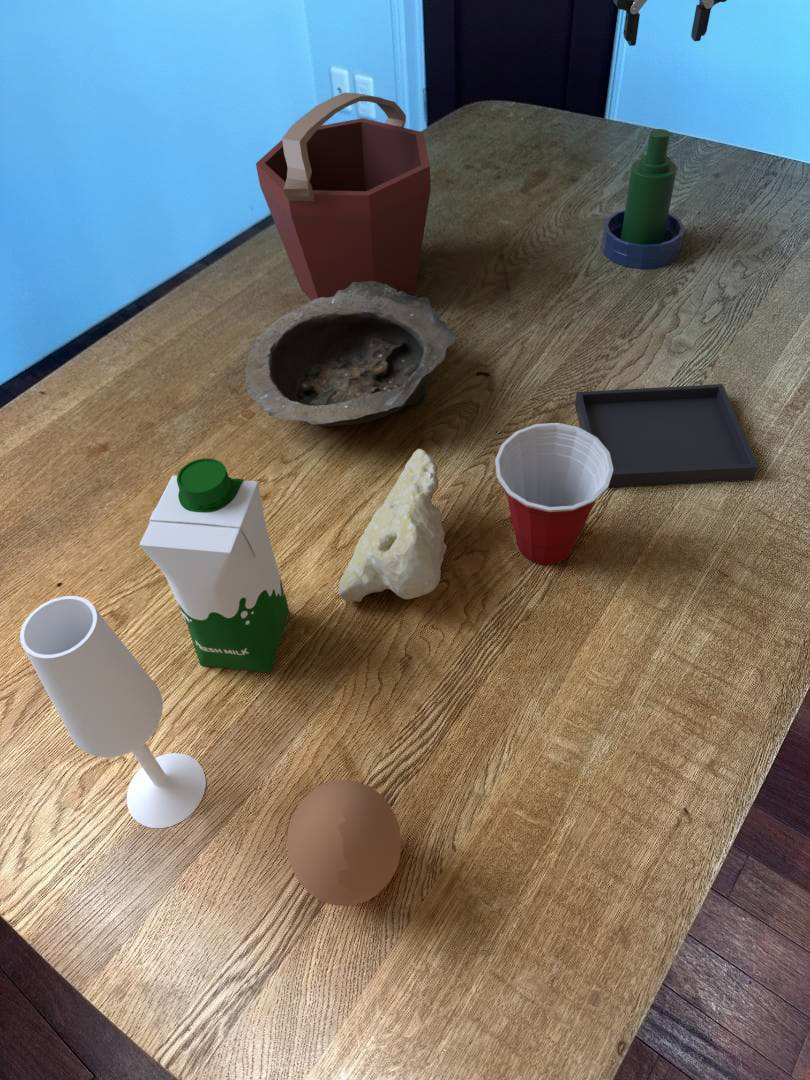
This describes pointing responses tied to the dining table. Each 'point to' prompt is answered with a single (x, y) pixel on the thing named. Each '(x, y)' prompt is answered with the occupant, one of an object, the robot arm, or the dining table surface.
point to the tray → (668, 435)
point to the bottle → (650, 193)
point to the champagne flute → (109, 705)
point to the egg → (344, 842)
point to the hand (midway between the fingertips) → (663, 41)
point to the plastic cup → (551, 486)
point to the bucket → (349, 197)
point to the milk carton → (220, 566)
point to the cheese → (400, 539)
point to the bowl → (640, 253)
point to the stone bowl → (348, 356)
